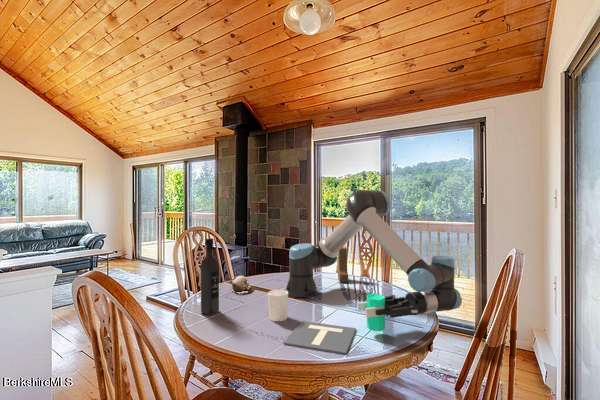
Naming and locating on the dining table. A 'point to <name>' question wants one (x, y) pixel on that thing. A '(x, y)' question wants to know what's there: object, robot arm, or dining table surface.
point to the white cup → (278, 305)
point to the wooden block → (342, 265)
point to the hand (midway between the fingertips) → (361, 309)
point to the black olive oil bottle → (209, 281)
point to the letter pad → (321, 337)
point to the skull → (241, 284)
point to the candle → (377, 321)
